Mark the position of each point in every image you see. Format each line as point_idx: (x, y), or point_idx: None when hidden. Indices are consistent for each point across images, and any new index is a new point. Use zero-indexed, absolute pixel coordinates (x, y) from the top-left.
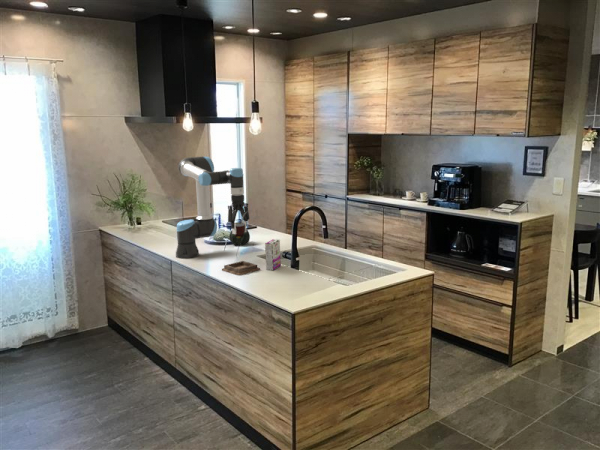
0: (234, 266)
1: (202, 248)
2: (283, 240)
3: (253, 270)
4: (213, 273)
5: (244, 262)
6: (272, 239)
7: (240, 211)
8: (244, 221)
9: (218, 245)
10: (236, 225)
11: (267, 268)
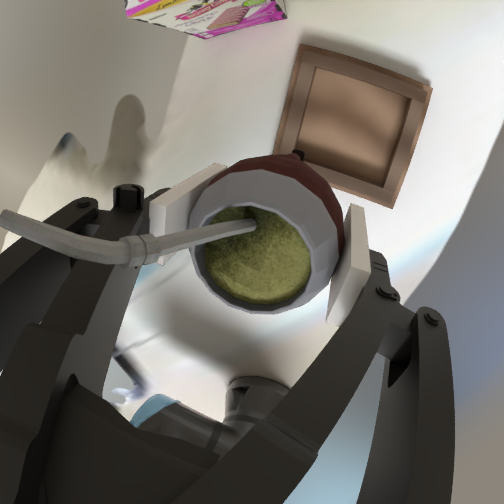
0: (342, 170)
1: (182, 388)
2: (15, 234)
3: (342, 55)
4: (442, 215)
5: (296, 139)
6: (130, 16)
7: (100, 376)
8: (166, 216)
9: (137, 365)
10: (333, 245)
11: (285, 11)
